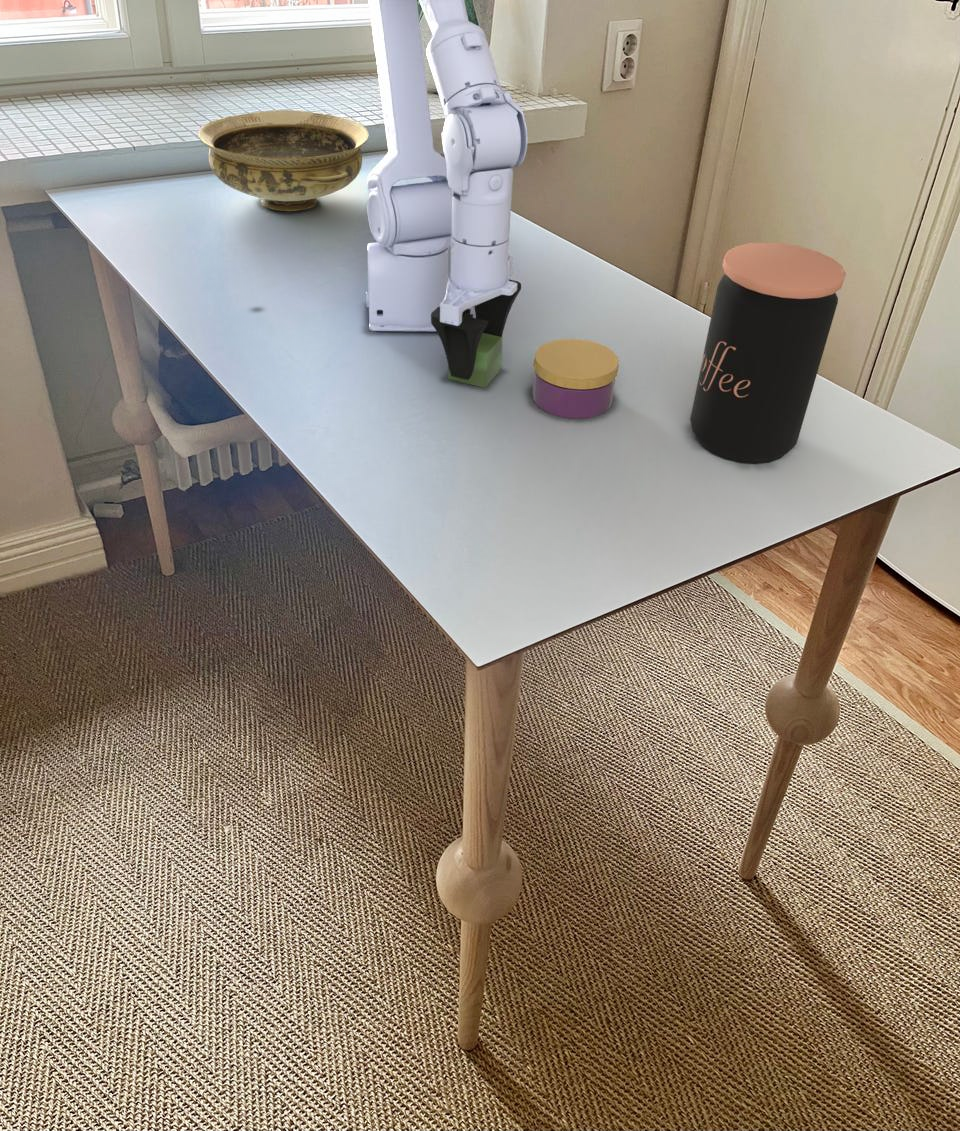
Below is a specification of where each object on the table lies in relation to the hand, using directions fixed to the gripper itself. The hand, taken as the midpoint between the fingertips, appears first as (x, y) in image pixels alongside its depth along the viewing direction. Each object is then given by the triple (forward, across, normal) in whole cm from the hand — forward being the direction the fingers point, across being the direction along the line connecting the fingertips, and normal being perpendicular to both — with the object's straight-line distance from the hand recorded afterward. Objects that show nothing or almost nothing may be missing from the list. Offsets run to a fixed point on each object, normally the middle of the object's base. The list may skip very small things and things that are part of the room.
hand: (475, 361), depth 104 cm
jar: (+2, 0, -11) cm, 11 cm away
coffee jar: (+2, 0, -29) cm, 29 cm away
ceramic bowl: (+2, +37, +45) cm, 58 cm away
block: (+2, 0, 0) cm, 2 cm away
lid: (-3, 0, -11) cm, 11 cm away
